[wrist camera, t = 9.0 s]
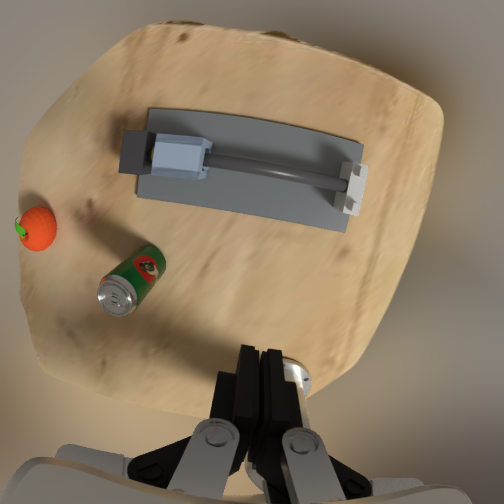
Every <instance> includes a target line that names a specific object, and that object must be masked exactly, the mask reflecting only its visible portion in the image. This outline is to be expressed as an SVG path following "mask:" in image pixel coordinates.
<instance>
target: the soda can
mask: <svg viewBox="0 0 504 504" xmlns="http://www.w3.org/2000/svg"><path fill="white" fill-rule="evenodd" d="M165 269H166V260H165V258H164V256H163V254H162V253H161V252H160V251H159V250H158V249H157V248H155V247H153V246H143V247H140V248H139V249H138V250H136V251H135V252H134V253H133V254H131V255H130V256H129V257H128V258H126V259H125V260H124V261H123V262H121V263H120V264H119V265H118V266H116V267H115V268H114V269H113V270H112V271H110V272H109V273H108V274H107V275H106V276H104V277H103V278H102V280H101V282H100V285H99V288H98V293H97V294H98V300H99V302H100V304H101V306H102V307H103V309H104V310H105V311H106V312H108V313H109V314H111V315H113V316H116V317H123V316H126V315H129V314H131V313H133V312H134V311H135V310H136V309H137V307H138V306H139V305H140V303H141V302H142V301H143V299H144V298H145V297H146V296H147V294H148V293H149V292H150V290H151V289H152V288H153V286H154V285H155V284H156V283H157V281H158V280H159V279H160V278H161V276H162V275H163V274H164V272H165Z"/></svg>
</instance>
